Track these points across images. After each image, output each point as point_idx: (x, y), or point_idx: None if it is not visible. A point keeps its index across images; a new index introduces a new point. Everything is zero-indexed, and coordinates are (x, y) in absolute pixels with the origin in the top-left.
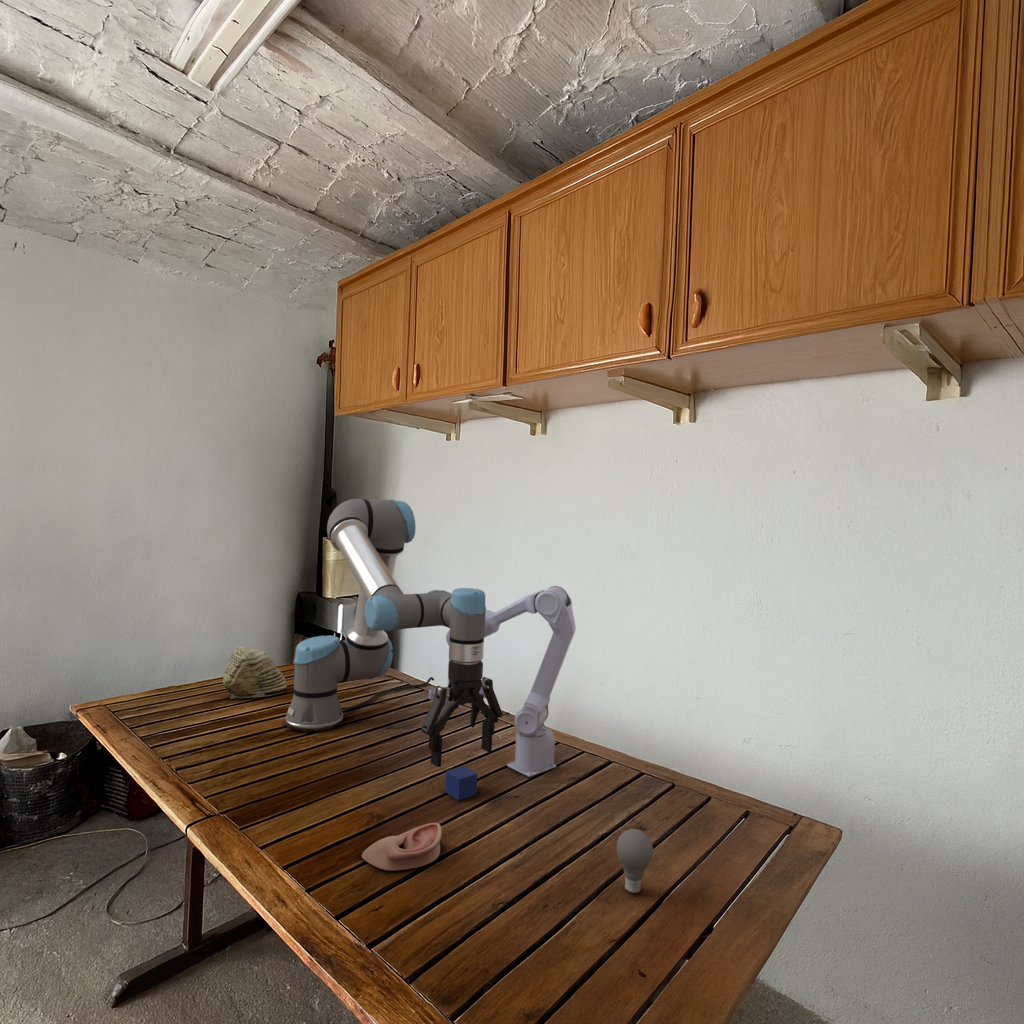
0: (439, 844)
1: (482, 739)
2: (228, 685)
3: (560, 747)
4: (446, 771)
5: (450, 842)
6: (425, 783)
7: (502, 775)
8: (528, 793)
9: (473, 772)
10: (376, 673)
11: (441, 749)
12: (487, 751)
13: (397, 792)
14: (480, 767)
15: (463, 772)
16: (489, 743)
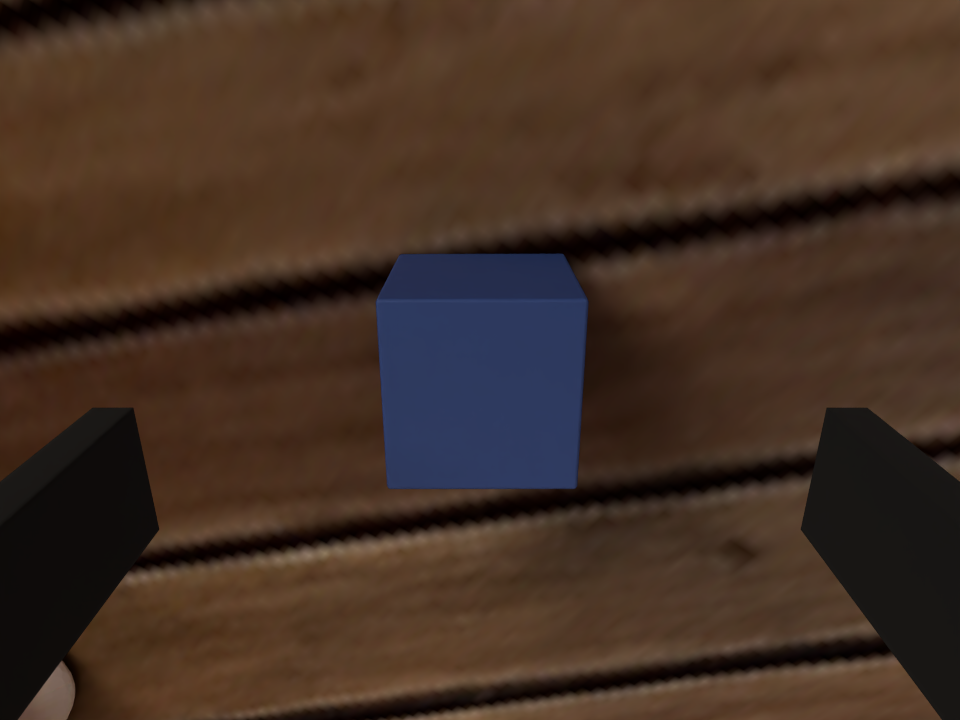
0: (64, 714)
1: (890, 485)
2: None
3: None
4: (376, 306)
5: (143, 693)
6: (344, 21)
7: (932, 279)
8: None
9: (563, 459)
10: None
11: (45, 678)
12: (807, 511)
13: (62, 29)
14: (937, 37)
15: (492, 413)
16: (857, 603)
